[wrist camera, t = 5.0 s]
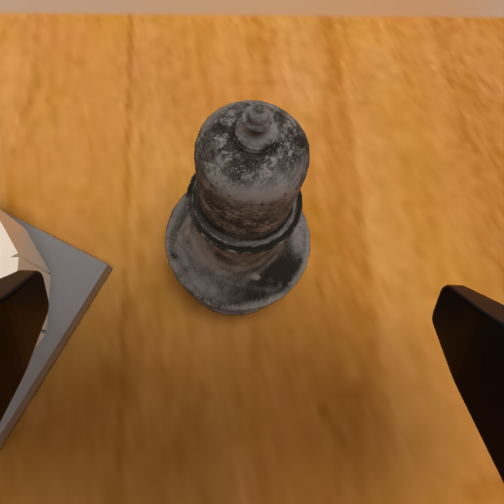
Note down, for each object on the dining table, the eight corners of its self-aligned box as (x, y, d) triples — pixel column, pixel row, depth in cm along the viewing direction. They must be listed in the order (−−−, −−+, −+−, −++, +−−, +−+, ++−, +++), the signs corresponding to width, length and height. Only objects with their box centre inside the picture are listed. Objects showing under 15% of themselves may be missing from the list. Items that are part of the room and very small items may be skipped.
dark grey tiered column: (186, 197, 20) (146, -28, 9) (300, 215, 21) (404, 19, 9) (163, 311, 19) (75, 217, 7) (287, 330, 19) (397, 267, 7)
